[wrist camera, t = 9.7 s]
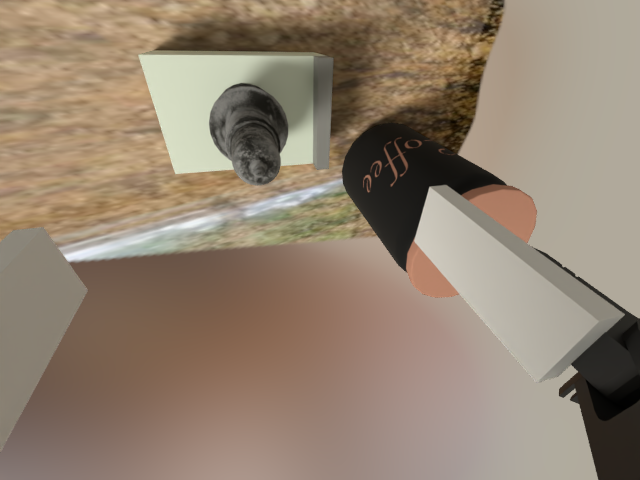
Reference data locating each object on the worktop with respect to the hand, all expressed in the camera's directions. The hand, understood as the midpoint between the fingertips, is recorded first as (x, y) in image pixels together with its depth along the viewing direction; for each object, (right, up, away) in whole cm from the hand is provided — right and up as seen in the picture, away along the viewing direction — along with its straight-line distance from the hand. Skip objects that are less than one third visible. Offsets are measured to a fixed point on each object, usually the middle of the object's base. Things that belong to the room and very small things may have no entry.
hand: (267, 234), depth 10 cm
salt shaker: (-4, +10, +14) cm, 18 cm away
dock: (-5, +13, +17) cm, 23 cm away
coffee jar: (+9, +10, +25) cm, 29 cm away
